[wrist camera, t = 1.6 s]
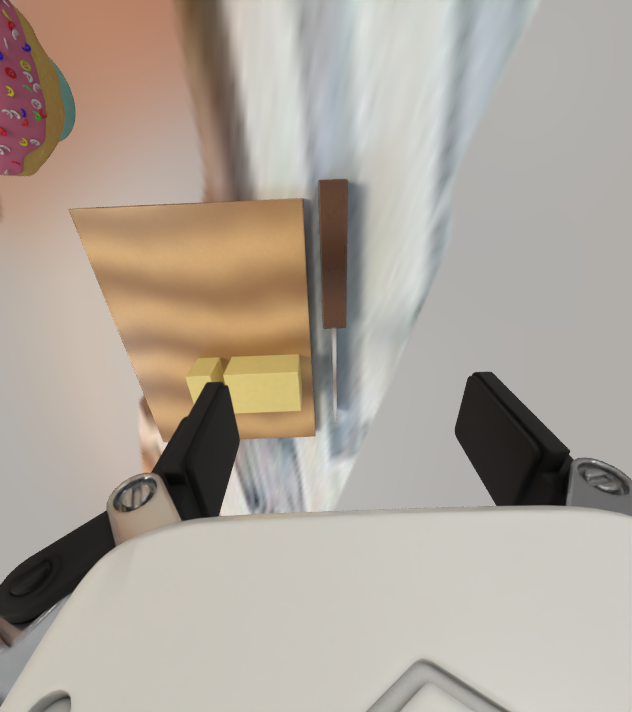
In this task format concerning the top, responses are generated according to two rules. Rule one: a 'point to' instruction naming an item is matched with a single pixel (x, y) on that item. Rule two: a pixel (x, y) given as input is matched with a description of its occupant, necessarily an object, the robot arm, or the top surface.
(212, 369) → the butter pat
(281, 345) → the board
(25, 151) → the birthday cake
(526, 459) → the robot arm
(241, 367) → the butter
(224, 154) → the top surface
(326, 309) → the knife
